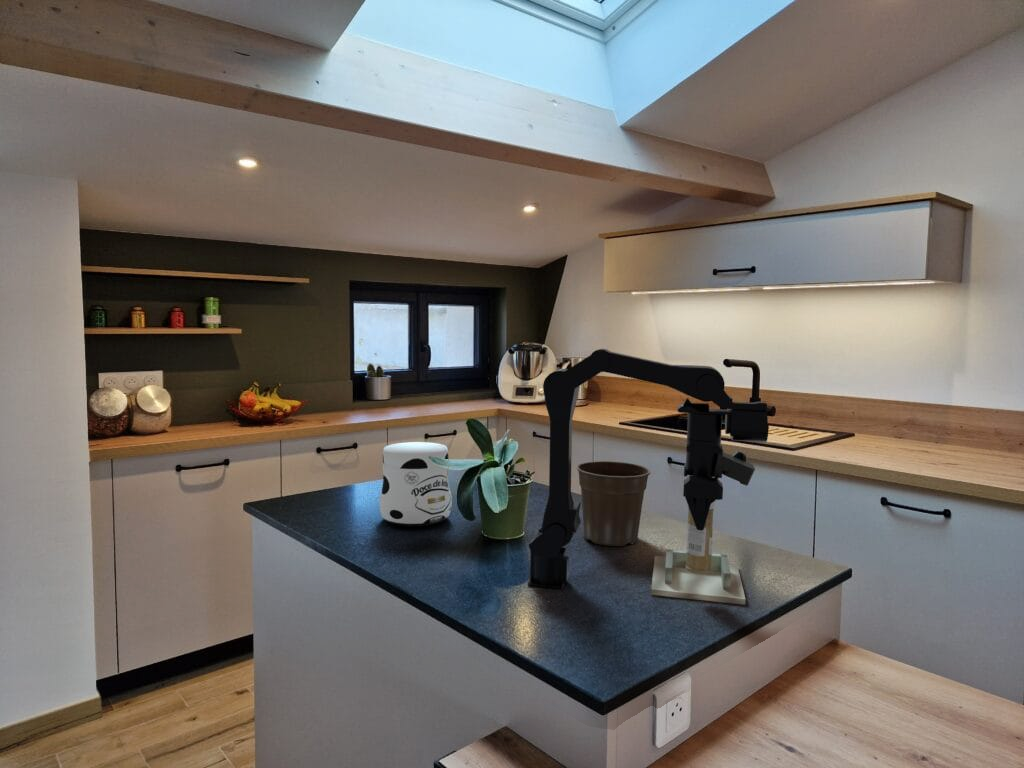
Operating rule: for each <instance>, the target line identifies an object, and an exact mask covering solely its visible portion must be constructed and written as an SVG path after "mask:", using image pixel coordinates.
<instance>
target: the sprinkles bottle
mask: <svg viewBox="0 0 1024 768" xmlns="http://www.w3.org/2000/svg"><path fill="white" fill-rule="evenodd" d="M715 504H716V500H715V501H714V502H713V503H711V505H710V509H709V512H708V516H707V519H706V523H705V527H704V530H697V528H696V526H695V523H694V520H693V517H692V514H691V512H690V509H689V506H688V505H687V508H688V511H687V512H688V514H687V528H686V529H687V530H686V549H685V551H687V559H686V569H687V570H688V571H690V572H692V573H696V574H707V573H709V572H711V570H712V568H711V555H712V554H713V553H712V552H713V523H714V512H715V511H714V510H715Z"/></svg>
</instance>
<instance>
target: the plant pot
mask: <svg viewBox="0 0 1024 768" xmlns="http://www.w3.org/2000/svg"><path fill="white" fill-rule="evenodd" d="M576 470H577V471H578V480H579V481H578V483H579V486H580V493H581V507H582V508H581V509H582V511H581V513H582V531H583V532H582V533H583V538H584V539H585V540H587V541H591V542H592V543H593V544H596V545H599V546H601V545H602V546H605V547H624V546H627V544H629V545H633V544H636V542H637V541H638V538H639V537H638V536H639V531H640V530H639V529H640V523H641V515H642V510H643V509H642V508H643V503H644V502H643V501H644V495H645V490H646V489H647V485H648V479H649V476H650V474H651V469H649V468H648V467H646V466H643V465H640V464H636V463H632V462H623V461H610V460H607V461H606V460H597V461H588V462H582V463H579V464H577V466H576Z"/></svg>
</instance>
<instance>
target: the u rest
mask: <svg viewBox="0 0 1024 768" xmlns="http://www.w3.org/2000/svg"><path fill="white" fill-rule="evenodd" d="M686 559H687V551H686V550H676V549H668V548H667V549H666V553H665V556H661V555H654V562H653V571H652V579H651V589H650V595H652V596H660V597H661V596H662V597H669V598H670V597H671V598H676V599H677V598H678V599H679V598H680V599H689V600H697V601H698V600H699V601H705V602H706V601H707V602H718V603H724V604H725V603H727V604H734V605H743V606H744V605H746V596H745V591H744V587H743V584H742V583H743V582H742V579H741V574H740V571H739V570H740V569H739V566H738V563H736V562H735V563H734V562H729V559H728V554H722V553H721V554H720V553H712V555H711V568H712V570H711V572H709V573H707V574H696V573H692V572H690V571H688V570H687V569H686Z"/></svg>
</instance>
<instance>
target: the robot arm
mask: <svg viewBox="0 0 1024 768" xmlns="http://www.w3.org/2000/svg"><path fill="white" fill-rule="evenodd" d="M603 372H604V373H608V374H612V375H616V376H621V377H626V378H631V379H635V380H639V381H643V382H646V383H647V382H648V383H652V384H653V383H654V384H657V385H661V386H666V387H667V388H671V389H673V390H675V391H678V392H680V393H681V394H685V396H686V395H687V396H689V397H691V398H693V399H696V400H699V401H701V402H692V401H691V400H690V398H689V397H686V398H685V399H684V401H683V402H682V403H681V404H680V405H678V406H677V407H676V408H677V412H678V413H681V414H682V413H683V414H687V431H686V432H687V433H686V448H685V449H686V454H685V455H686V456H685V463H684V467H683V476H684V477H686V478H685V479H684V480H683V489H682V490H683V492H682V493H683V495H682V497H684V498H685V501H686V503H687V507H688V506H689V509H690V512H691V514H692V517H693V520H694V523H695V526H696V528H697V530H704V527H705V523H706V519H707V516H708V512H709V509H710V505H711V503H713V502H714V501H715V502H716V501H717V500H718V501H721V500H723V496H724V487H723V483H722V482H721V481H720V480H719V479H723V476H725V477H728V478H730V479H732V480H734V481H737V482H739V484H740V485H744V486H748V485H749V483H750V481H751V479H752V477H753V475H754V472H755V470H756V468H755V466H754V464H753V463H751V462H750V461H747V455H746V453H744V452H741V451H739V450H736V451H735V452H734V453H732V454H730V453H726V452H724V449H723V445H721V443H722V428H723V425H722V424H723V415H725V417H724V418H725V419H724V420H725V421H724V434H725V435H729V436H730V437H731V438H730V439H731V441H737V442H738V441H740V442H742V441H743V442H758V443H767V441H768V438H769V429H770V428H769V427H770V423H769V422H768V421H769V419H768V418H769V416H768V404H767V403H766V402H765V401H756V402H755V401H754V402H745V401H734V400H733V397H732V396H731V395H729V394H727V392H726V391H725V384H726V383H725V380H724V376H723V375H722V374H721V373H720V371H719V370H718V369H716V368H714V367H712V366H708V365H695V364H693V365H692V364H690V365H689V364H685V365H684V364H669V363H664V362H660V361H655V360H651V359H646V358H641V357H637V356H632V355H628V354H623V353H620V352H614V351H611V350H609V349H607V348H599V349H596V350H594V351H593V352H592V353H591V354H590V355H588V356H586V357H585V358H584V359H581V361H579V362H577V363H576V364H574V365H572V366H571V367H569V368H560V369H556V370H555V371H553V372H551V373H549V374H548V375H547V376H546V377H544V380H543V385H542V389H543V396H544V402H545V407H546V411H547V414H548V417H549V463H548V465H549V466H548V467H549V477H548V478H549V479H548V481H549V482H548V483H549V484H548V498H547V503H546V507H545V509H544V510H545V511H544V513H543V519H542V523H541V528H539V529H538V530H537V532H536V533H535V534H534V535H533V537H532V539H531V540H530V542H529V544H528V548H529V551H530V555H529V559H530V560H529V561H530V563H529V579H528V581H527V585H528V586H532V587H533V586H534V587H540V588H548V589H549V588H550V589H557V590H561V589H563V588H564V586H565V583H567V582H568V581H569V577H570V576H569V575H570V574H569V573H570V557H569V555H567V547H566V546H567V545H568V544H569V543H571V540H572V538H573V537H574V534H576V533H577V531H578V529H579V526H580V525H581V518H580V509H581V506H582V501H576V502H575V501H574V499H573V495H572V455H573V454H572V452H573V451H572V449H573V448H572V445H573V418H574V413H575V410H576V406H577V402H578V398H579V397H578V396H579V391H580V387H581V385H583V384H585V383H586V382H588V381H590V380H591V379H592V378H594V377H595V376H598V375H599V374H600V373H603ZM702 402H703V403H702ZM704 402H705V403H704ZM708 402H709V403H708ZM710 402H712V403H713V404H715V405H716V406H718V407H719V409H718V408H710Z"/></svg>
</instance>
